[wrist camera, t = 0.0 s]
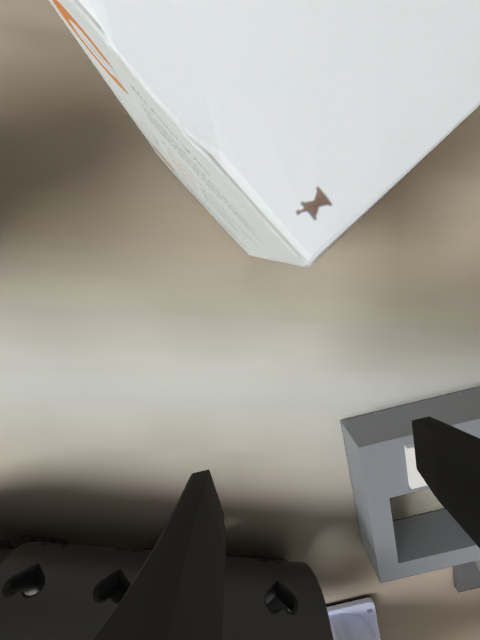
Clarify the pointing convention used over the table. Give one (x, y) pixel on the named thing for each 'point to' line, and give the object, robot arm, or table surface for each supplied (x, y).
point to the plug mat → (466, 576)
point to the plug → (477, 564)
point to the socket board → (405, 487)
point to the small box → (286, 101)
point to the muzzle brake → (118, 575)
